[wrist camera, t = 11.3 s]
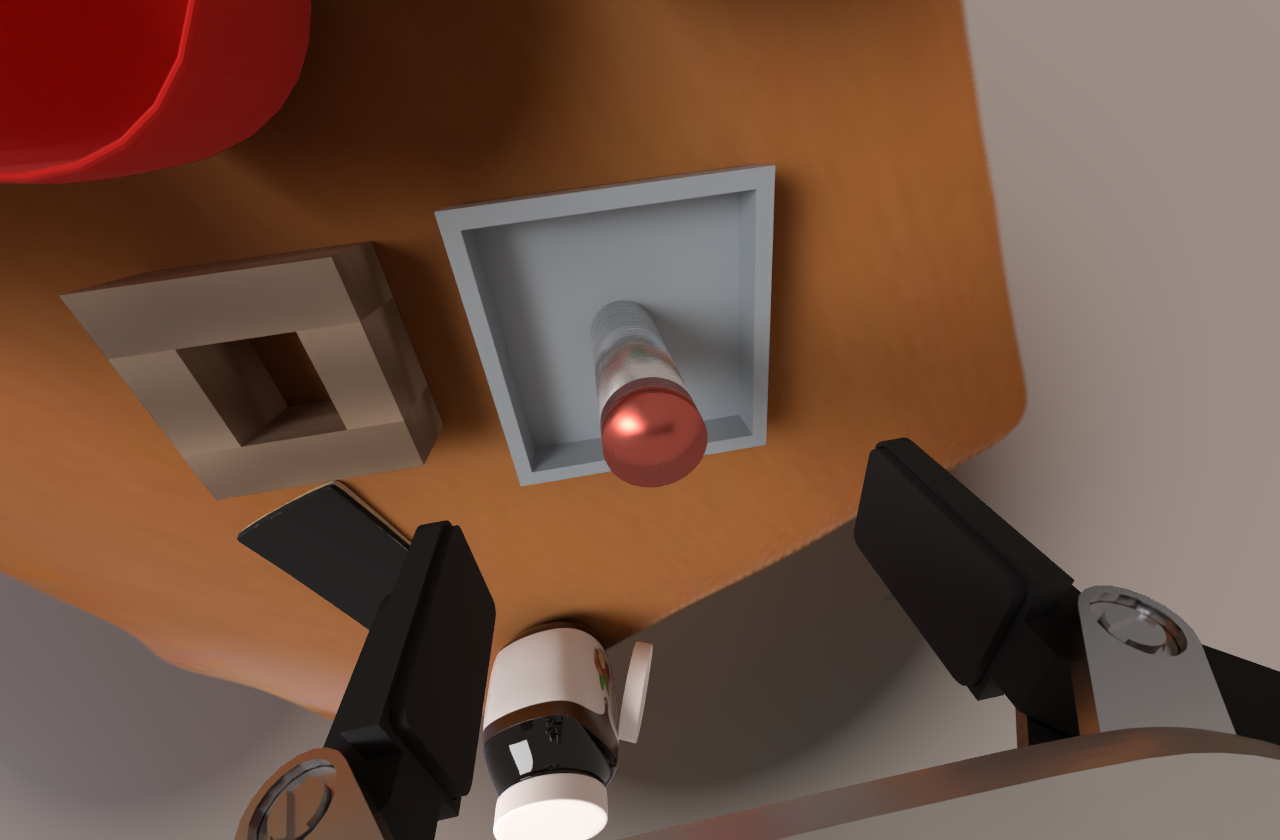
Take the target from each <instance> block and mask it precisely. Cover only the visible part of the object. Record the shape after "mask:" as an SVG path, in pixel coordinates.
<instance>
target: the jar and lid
mask: <svg viewBox="0 0 1280 840" xmlns="http://www.w3.org/2000/svg"><path fill="white" fill-rule="evenodd" d="M652 650H653V645H652V644H648V643H644V642H640V641H636V644H635V646H634V649H633V653H632V657H631V661H630V665H629V670H628V674H627V680H626V684H625V690H624V696H623V701H622V707H621V714H620V722H619V732H618V722H617V710H616V697H615V689H614V682H613V676H612V671H611V667H610V663H609V660H608V657H607V654H606V651H605V648H604V646H603V644H602V642H601V640H600V638H599V637H598V635H597V634H596V633H595V632H594V631H593V630H591V629H590V628H589V627H587V626H585V625H582V624H579V623H575V622H568V621H555V622H548V623H544V624H540V625H537V626H535V627H533V628H531V629H528V630H526V631H525V632H523V633H521V634H519V635H518V636H516V637H515V638H513V639H512V640H511V641H510V642H508V643H507V644H506V645H505V646H504V647H503V648H502V649H501V650H500V652H499V653H498V655H497V657H496V660H495V662H494V665H493V669H492V673H491V678H490V684H489V690H488V697H487V703H486V709H485V716H484V726H483V748H484V756H485V760H486V765H487V768H488V772H489V774H490V777H491V781H492V783H493V785H494V787H495V790H496V792H497V794H498V796H499V798H498V800H497V804H496V811H495V819H494V828H493V832H494V836H495V837H496V839H497V840H587V839H589V838H591V837H593V836H595V835H596V834H597V833H599V832H600V831H601V830H602V829H603V828H604V827H605V825H606V823H607V820H608V807H607V792H606V786H607V785H608V784H609V782H610V781H611V779H612V777H613V776H614V773H615V771H616V768H617V764H618V756H619V739H621V740H625V741H629V742H633V743H636V742H637V739H638V735H639V730H640V725H641V720H642V714H643V710H644V704H645V698H646V692H647V686H648V680H649V673H650V666H651V659H652Z"/></svg>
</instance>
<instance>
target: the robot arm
mask: <svg viewBox="0 0 1280 840" xmlns="http://www.w3.org/2000/svg"><path fill="white" fill-rule="evenodd" d="M854 538H855V541H856V544H857V546H858V547H859V549H860V550H861V552H862V553H863V554H864V556H865V557H866V559H867V560H868V561H869V562H870V564H871V565H872V567H873V568H874V570H875V571H876V572H877V574H878V575H879V576H880V578H881V579H882V580H883V582H884V583H885V585H886V586H887V587H888V589H889V590H890V592H891V593H892V594H893V596H894V597H895V598H896V600H897V601H898V602H899V604H900V605H901V607H902V608H903V609H904V611H905V612H906V613H907V615H908V616H909V618H910V619H911V620H912V622H913V623H914V624H915V626H916V627H917V628H918V630H919V631H920V633H921V634H922V635H923V637H924V638H925V639H926V641H927V642H928V644H929V645H930V646H931V648H932V649H933V650H934V652H935V653H936V654H937V656H938V657H939V659H940V660H941V661H942V663H943V664H944V666H945V667H946V668H947V670H948V671H949V672H950V674H951V675H952V677H953V678H954V679H955V680H956V681H957V682H958V683H960V684H961V685H964V686H967V687H968V688H969V690H970V691H971V692H972V694H973V695H974V696H975V698H976V699H977V700H978V701H979V700H983V699H988V698H992V697H997V696H1001V695H1004V694H1005V695H1006V696H1007V697H1008V699H1009V700H1010V701H1011V702H1012V703H1013V705H1014V706H1015V712H1016V734H1017V749H1012V750H1007V751H1002V752H998V753H993V754H989V755H984V756H980V757H975V758H971V759H967V760H962V761H958V762H953V763H949V764H944V765H940V766H935V767H931V768H927V769H923V770H918V771H913V772H909V773H905V774H900V775H896V776H891V777H887V778H882V779H878V780H873V781H869V782H865V783H860V784H856V785H851V786H848V787H843V788H838V789H834V790H830V791H825V792H821V793H817V794H813V795H808V796H804V797H799V798H795V799H791V800H786V801H782V802H778V803H773V804H769V805H765V806H760V807H756V808H752V809H748V810H743V811H739V812H735V813H730V814H726V815H722V816H717V817H713V818H708V819H705V820H700V821H696V822H691V823H687V824H683V825H679V826H674V827H670V828H666V829H662V830H658V831H653V832H649V833H645V834H641V835H636V836H632V837H628V838H624V839H619V840H1280V672H1279V671H1276V670H1273V669H1271V668H1268V667H1265V666H1262V665H1259V664H1256V663H1253V662H1251V661H1248V660H1245V659H1242V658H1239V657H1236V656H1233V655H1231V654H1228V653H1225V652H1222V651H1219V650H1216V649H1213V648H1210V647H1208V646H1205V645H1202V644H1201V642H1200V641H1199V639H1198V637H1197V635H1196V634H1195V632H1194V630H1193V629H1192V628H1191V627H1190V626H1189V625H1188V624H1187V623H1186V622H1185V621H1184V620H1183V619H1182V618H1181V617H1180V616H1178V615H1177V614H1175V613H1174V612H1173V611H1171V610H1169V609H1168V608H1167V607H1165V606H1164V605H1162V604H1160V603H1158V602H1156V601H1154V600H1153V599H1151V598H1149V597H1147V596H1145V595H1142V594H1139V593H1136V592H1133V591H1131V590H1128V589H1124V588H1119V587H1114V586H1093V587H1090V588H1087V589H1084V591H1083V592H1082V593H1081V592H1080V591H1078V590H1077V589H1076V588H1075V587H1074V586H1073V585H1072V583H1073V582H1074V580H1073V579H1072V578H1071V577H1070V576H1069V575H1068V574H1066V573H1065V572H1064V571H1063V570H1062V569H1061V568H1060V567H1058V566H1057V565H1056V564H1055V563H1054V562H1053V561H1051V560H1050V559H1049V558H1048V557H1047V556H1046V555H1044V554H1043V553H1042V552H1041V551H1040V550H1039V549H1037V548H1036V547H1035V546H1034V545H1033V544H1032V543H1030V542H1029V541H1028V540H1027V539H1026V538H1025V537H1023V536H1022V535H1021V534H1020V533H1018V531H1016V530H1015V529H1014V528H1013V527H1012V526H1010V525H1009V524H1008V523H1007V522H1006V521H1005V520H1003V519H1002V518H1001V517H1000V516H999V515H998V514H997V513H995V512H994V511H993V510H992V509H991V508H990V507H988V506H987V505H986V504H985V503H984V502H983V501H981V500H980V499H979V498H978V497H977V496H976V495H974V494H973V493H972V492H971V491H970V490H968V489H967V488H966V487H965V486H964V485H963V484H962V483H960V482H959V481H958V480H957V479H956V478H954V477H953V476H952V475H951V474H950V473H949V472H948V471H946V470H945V469H944V468H943V467H942V466H941V465H939V464H938V463H937V462H936V461H935V460H934V459H932V458H931V457H930V456H929V455H928V454H927V453H925V452H924V451H923V450H922V449H921V448H920V447H918V446H917V445H916V444H915V443H914V442H913V441H911V440H910V439H908V438H899V439H893V440H887V441H882V442H879V443H878V444H877V445H876V447H875V449H874V450H872V451H871V452H870V454H869V459H868V464H867V469H866V474H865V479H864V484H863V489H862V494H861V499H860V504H859V509H858V514H857V519H856V524H855V529H854ZM495 617H496V611H495V604H494V601H493V599H492V596H491V594H490V592H489V590H488V588H487V585H486V583H485V581H484V579H483V577H482V574H481V572H480V570H479V568H478V565H477V563H476V561H475V559H474V557H473V554H472V552H471V550H470V548H469V546H468V543H467V541H466V539H465V537H464V534H463V532H462V530H461V528H460V527H459V526H458V525H456V526H452V525H451V523H450V522H449V521H440V522H435V523H429V524H424V525H420V526H419V527H418V528H417V529H416V531H415V534H414V537H413V539H412V542H411V545H410V547H409V550H408V552H407V555H406V558H405V560H404V563H403V566H402V568H401V571H400V574H399V576H398V579H397V581H396V584H395V587H394V589H393V592H392V594H390V595H387V596H386V597H385V598H384V599H383V600H382V602H381V604H380V606H379V608H378V611H377V613H376V616H375V618H374V621H373V623H372V626H371V628H370V631H369V633H368V636H367V638H366V641H365V643H364V646H363V648H362V651H361V653H360V656H359V658H358V661H357V664H356V666H355V669H354V671H353V674H352V676H351V679H350V681H349V684H348V686H347V689H346V691H345V694H344V696H343V699H342V701H341V704H340V706H339V709H338V711H337V714H336V716H335V719H334V722H333V724H332V727H331V729H330V732H329V734H328V737H327V739H326V742H325V744H324V747H323V748H319V749H313V750H310V751H308V752H305V753H303V754H300V755H298V756H296V757H295V758H293V759H292V760H291V761H289V762H287V763H286V764H285V765H283V766H282V767H280V768H279V769H278V770H277V771H276V772H275V773H274V774H273V775H272V776H271V777H270V778H269V779H268V780H267V781H266V782H265V783H264V784H263V785H262V786H261V788H260V789H259V790H258V792H257V793H256V794H255V795H254V797H253V798H252V799H251V801H250V803H249V804H248V806H247V808H246V810H245V812H244V814H243V816H242V817H241V819H240V822H239V825H238V828H237V832H236V835H235V839H234V840H434V838H435V832H436V827H437V822H438V821H439V820H443V819H448V818H452V817H457V816H458V815H459V809H460V802H461V796H466V795H467V794H468V793H469V791H470V789H471V785H472V780H473V772H474V766H475V758H476V751H477V745H478V737H479V730H480V723H481V716H482V709H483V702H484V695H485V688H486V681H487V674H488V667H489V660H490V653H491V646H492V639H493V632H494V625H495Z"/></svg>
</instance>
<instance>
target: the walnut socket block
mask: <svg viewBox="0 0 1280 840" xmlns="http://www.w3.org/2000/svg"><path fill="white" fill-rule="evenodd" d="M59 297H60V298H61V299H62V301H63V302H64V303H65V305H66V306H67V307H68V308H69V310H70V311H71V312H72V314H73V315H74V316H75V317H76V319H77V320H78V321H79V323H80V324H81V325H82V327H83V328H84V329H85V330H86V332H87V333H88V334H89V336H90V337H91V338H92V340H93V341H94V342H95V343H96V345H97V346H98V347H99V349H100V350H101V351H102V353H103V354H104V355H105V356H106V358H107V359H108V360H109V362H110V363H111V364H112V366H113V367H114V368H115V369H116V371H117V372H118V373H119V375H120V376H121V377H122V379H123V380H124V381H125V382H126V384H127V385H128V386H129V388H130V389H131V390H132V392H133V393H134V394H135V395H136V397H137V398H138V399H139V401H140V402H141V403H142V405H143V406H144V407H145V408H146V410H147V411H148V412H149V414H150V415H151V416H152V418H153V419H154V420H155V421H156V423H157V424H158V425H159V427H160V428H161V429H162V431H163V432H164V433H165V434H166V436H167V437H168V438H169V440H170V441H171V442H172V444H173V445H174V446H175V447H176V449H177V450H178V451H179V453H180V454H181V455H182V457H183V458H184V459H185V460H186V462H187V463H188V464H189V466H190V467H191V468H192V470H193V471H194V472H195V473H196V475H197V476H198V477H199V479H200V480H201V481H202V483H203V484H204V485H205V486H206V488H207V489H208V490H209V492H210V493H211V494H212V496H213V497H214V498H215V499H216V500H218V499H224V498H230V497H236V496H242V495H249V494H255V493H261V492H267V491H273V490H279V489H285V488H291V487H297V486H303V485H309V484H315V483H321V482H327V481H333V480H339V479H345V478H351V477H357V476H363V475H369V474H375V473H381V472H387V471H393V470H399V469H405V468H412V467H418V466H424V464H425V462H426V460H427V458H428V456H429V454H430V452H431V450H432V448H433V446H434V444H435V442H436V439H437V437H438V435H439V433H440V431H441V429H442V427H443V422H442V420H441V417H440V415H439V412H438V410H437V407H436V404H435V402H434V399H433V397H432V394H431V392H430V389H429V387H428V384H427V382H426V379H425V376H424V374H423V371H422V369H421V366H420V364H419V361H418V359H417V356H416V354H415V351H414V348H413V346H412V343H411V341H410V338H409V336H408V333H407V331H406V328H405V326H404V323H403V321H402V318H401V315H400V313H399V310H398V308H397V305H396V303H395V300H394V298H393V295H392V293H391V290H390V287H389V285H388V282H387V280H386V277H385V275H384V272H383V270H382V267H381V265H380V262H379V260H378V257H377V254H376V252H375V249H374V247H373V244H372V242H371V241H368V242H361V243H354V244H347V245H340V246H332V247H325V248H318V249H311V250H304V251H297V252H289V253H282V254H275V255H268V256H261V257H254V258H246V259H239V260H232V261H225V262H218V263H211V264H203V265H196V266H189V267H182V268H175V269H168V270H160V271H153V272H146V273H142V274H138V275H134V276H130V277H127V278H123V279H119V280H115V281H111V282H108V283H104V284H100V285H96V286H92V287H88V288H85V289H81V290H77V291H73V292H69V293H66V294H62V295H59ZM290 332H296V333H297V335H298V337H299V338H300V340H301V342H302V344H303V346H304V348H305V350H306V352H307V354H308V356H309V358H310V359H311V361H312V363H313V365H314V367H315V369H316V371H317V373H318V375H319V377H320V379H321V380H322V382H323V384H324V386H325V388H326V390H327V392H328V394H329V396H330V398H331V400H325V401H319V402H313V403H306V404H300V405H293V406H288V405H287V403H286V402H285V400H284V398H283V396H282V395H281V393H280V391H279V390H278V388H277V386H276V384H275V383H274V381H273V379H272V378H271V376H270V374H269V372H268V371H267V369H266V367H265V366H264V364H263V362H262V360H261V359H260V357H259V355H258V354H257V352H256V350H255V349H254V347H253V345H252V343H251V342H250V340H249V338H256V337H263V336H269V335H276V334H283V333H290Z"/></svg>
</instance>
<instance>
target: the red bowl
mask: <svg viewBox="0 0 1280 840" xmlns="http://www.w3.org/2000/svg"><path fill="white" fill-rule="evenodd" d="M311 7H312V6H311V0H0V183H25V184H57V183H75V182H86V181H95V180H103V179H110V178H117V177H123V176H129V175H135V174H140V173H145V172H150V171H155V170H159V169H164V168H169V167H173V166H178V165H183V164H187V163H192V162H196V161H199V160H203V159H206V158H209V157H211V156H213V155H215V154H218V153H220V152H222V151H224V150H226V149H227V148H229V147H231V146H233V145H235V144H237V143H239V142H241V141H243V140H245V139H247V138H249V137H250V136H252V135H253V134H255V133H256V132H257V131H258V130H259V129H260V128H261V127H262V126H263V125H264V124H265V123H266V122H267V121H268V120H270V119H271V118H272V117H273V116H274V115H275V114H276V113H277V112H278V111H279V110H280V109H281V108H282V106H283V105H284V103H285V101H286V100H287V98H288V96H289V94H290V93H291V91H292V89H293V88H294V86H295V84H296V83H297V81H298V79H299V76H300V73H301V69H302V66H303V63H304V59H305V56H306V52H307V49H308V46H309V36H310V21H311Z"/></svg>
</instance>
